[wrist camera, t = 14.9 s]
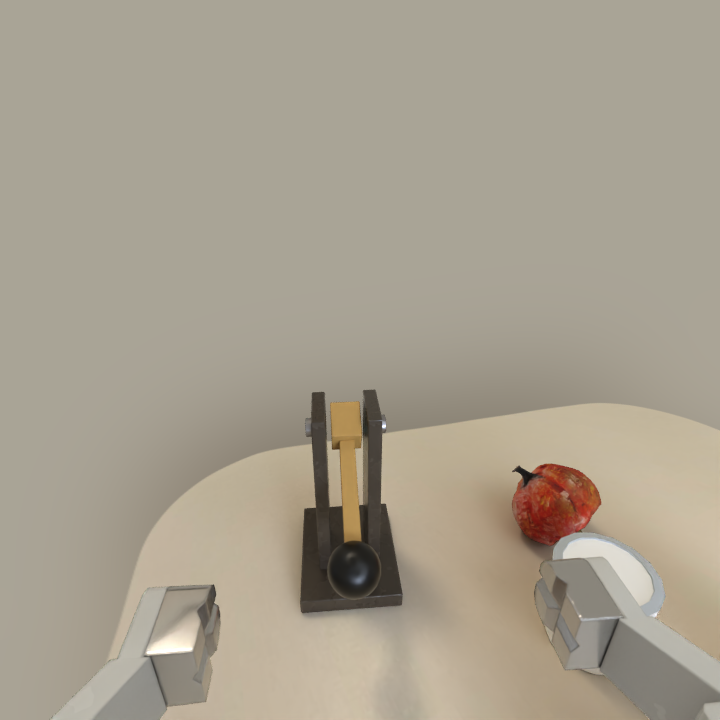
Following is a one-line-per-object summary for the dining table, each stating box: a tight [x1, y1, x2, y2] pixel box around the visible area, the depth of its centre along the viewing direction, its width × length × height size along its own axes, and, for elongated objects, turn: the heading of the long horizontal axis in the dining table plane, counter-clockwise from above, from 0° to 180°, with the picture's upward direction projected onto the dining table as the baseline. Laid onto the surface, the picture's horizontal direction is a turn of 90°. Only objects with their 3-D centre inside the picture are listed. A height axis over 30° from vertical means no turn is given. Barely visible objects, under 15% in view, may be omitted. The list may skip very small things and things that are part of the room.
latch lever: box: [327, 402, 381, 600], centre depth 31 cm, size 13×3×3 cm
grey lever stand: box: [300, 390, 403, 613], centre depth 36 cm, size 10×8×16 cm
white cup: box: [545, 533, 665, 675], centre depth 32 cm, size 7×7×7 cm
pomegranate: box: [512, 464, 601, 546], centre depth 41 cm, size 7×7×10 cm
